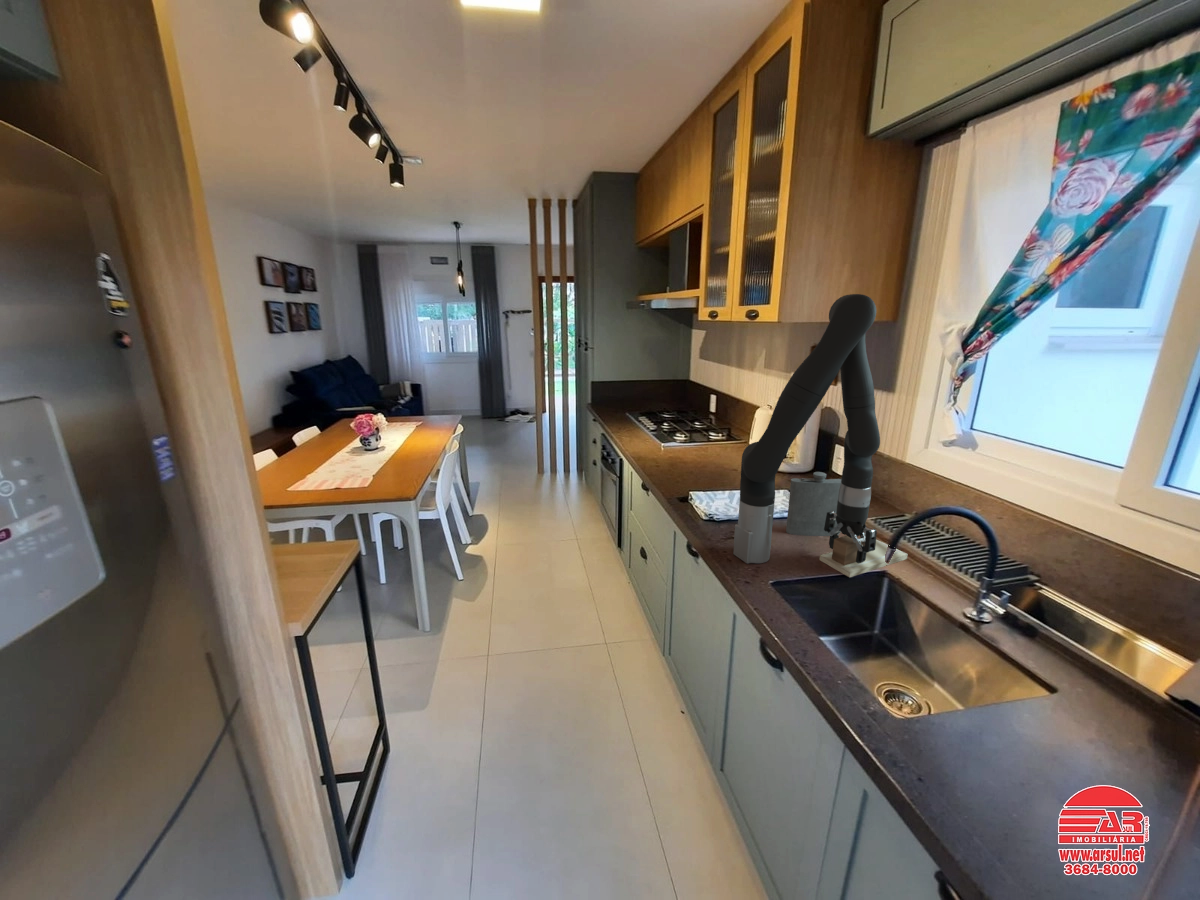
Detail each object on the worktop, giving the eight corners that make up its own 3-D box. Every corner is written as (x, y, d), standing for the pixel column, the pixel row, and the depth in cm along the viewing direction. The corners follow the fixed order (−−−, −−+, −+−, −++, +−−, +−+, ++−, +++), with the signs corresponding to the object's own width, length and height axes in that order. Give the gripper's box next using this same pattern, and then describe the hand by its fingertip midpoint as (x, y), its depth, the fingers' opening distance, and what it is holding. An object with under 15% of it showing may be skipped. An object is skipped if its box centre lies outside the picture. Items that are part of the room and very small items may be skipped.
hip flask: (837, 530, 153) (845, 471, 147) (841, 536, 149) (850, 475, 143) (784, 529, 155) (790, 470, 149) (788, 535, 151) (794, 475, 145)
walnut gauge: (843, 565, 130) (846, 545, 128) (831, 558, 134) (834, 539, 132) (860, 560, 132) (862, 540, 131) (847, 553, 136) (850, 534, 134)
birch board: (849, 577, 128) (850, 572, 127) (819, 560, 136) (820, 554, 136) (906, 558, 136) (907, 553, 135) (874, 543, 145) (875, 538, 144)
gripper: (821, 493, 133) (815, 546, 138) (867, 513, 120) (858, 570, 125) (841, 488, 136) (834, 541, 140) (888, 507, 123) (879, 564, 128)
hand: (846, 555), depth 133 cm, fingers open, 8 cm apart
